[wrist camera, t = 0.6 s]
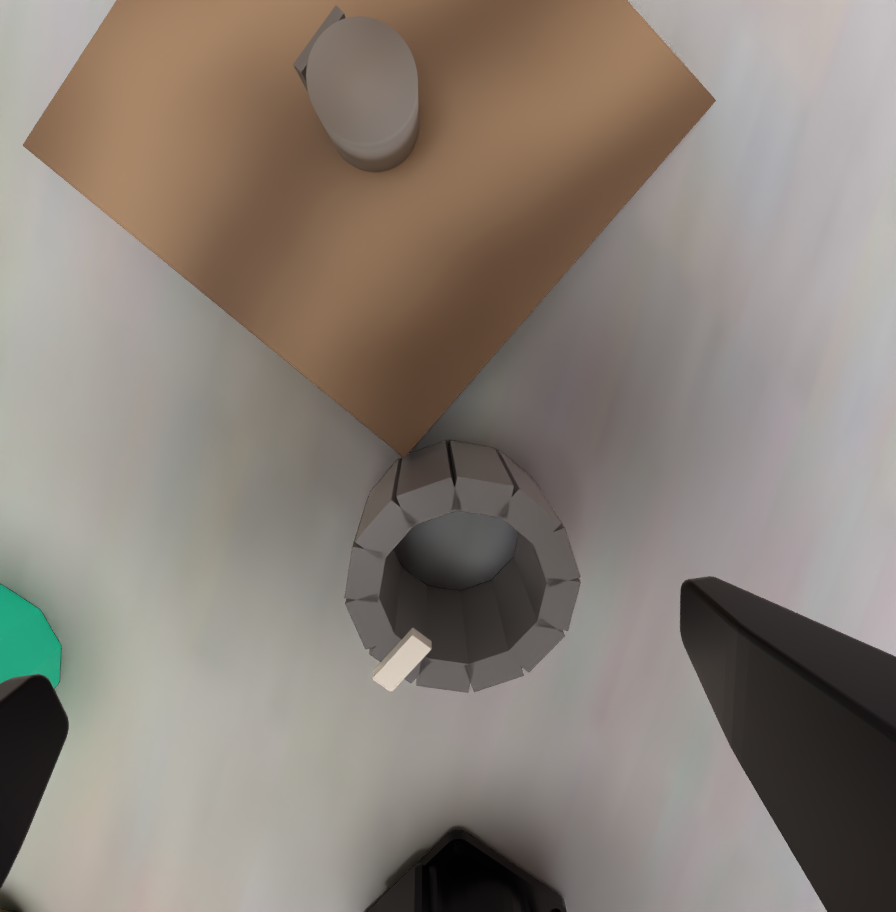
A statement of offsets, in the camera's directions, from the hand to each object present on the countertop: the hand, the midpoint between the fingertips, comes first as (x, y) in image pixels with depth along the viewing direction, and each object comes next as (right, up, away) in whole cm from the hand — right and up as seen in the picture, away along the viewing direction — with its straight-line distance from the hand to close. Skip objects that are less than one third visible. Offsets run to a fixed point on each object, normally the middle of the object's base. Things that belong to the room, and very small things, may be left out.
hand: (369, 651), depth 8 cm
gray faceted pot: (+1, 0, +12) cm, 12 cm away
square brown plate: (-1, +13, +9) cm, 16 cm away
